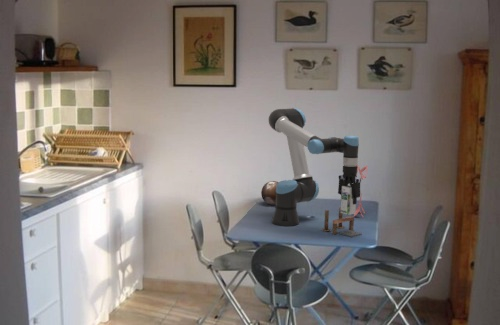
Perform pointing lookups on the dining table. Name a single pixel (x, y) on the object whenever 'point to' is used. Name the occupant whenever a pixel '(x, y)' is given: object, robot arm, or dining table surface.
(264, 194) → the wooden sphere
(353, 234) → the pad
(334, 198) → the dining table surface
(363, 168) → the figurine
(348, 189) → the syrup box
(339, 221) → the wooden frame
